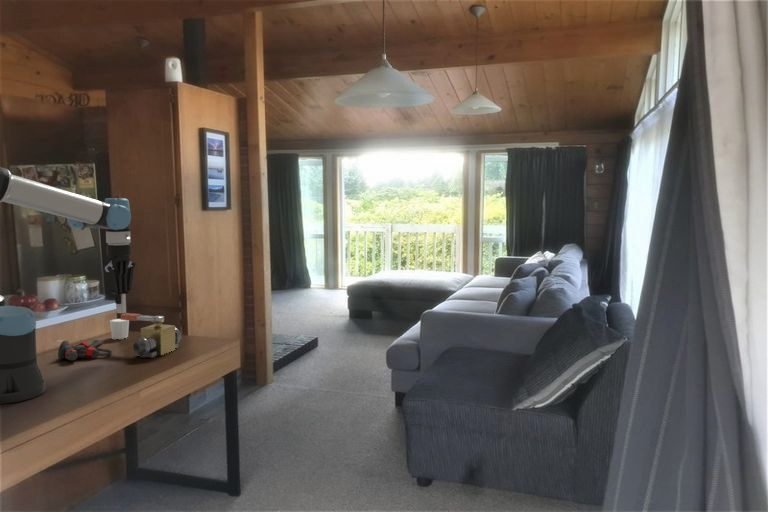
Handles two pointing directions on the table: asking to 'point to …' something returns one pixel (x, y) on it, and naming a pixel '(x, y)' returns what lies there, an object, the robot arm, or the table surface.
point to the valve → (81, 350)
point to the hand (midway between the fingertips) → (121, 312)
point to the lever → (141, 317)
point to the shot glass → (119, 328)
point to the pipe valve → (157, 340)
